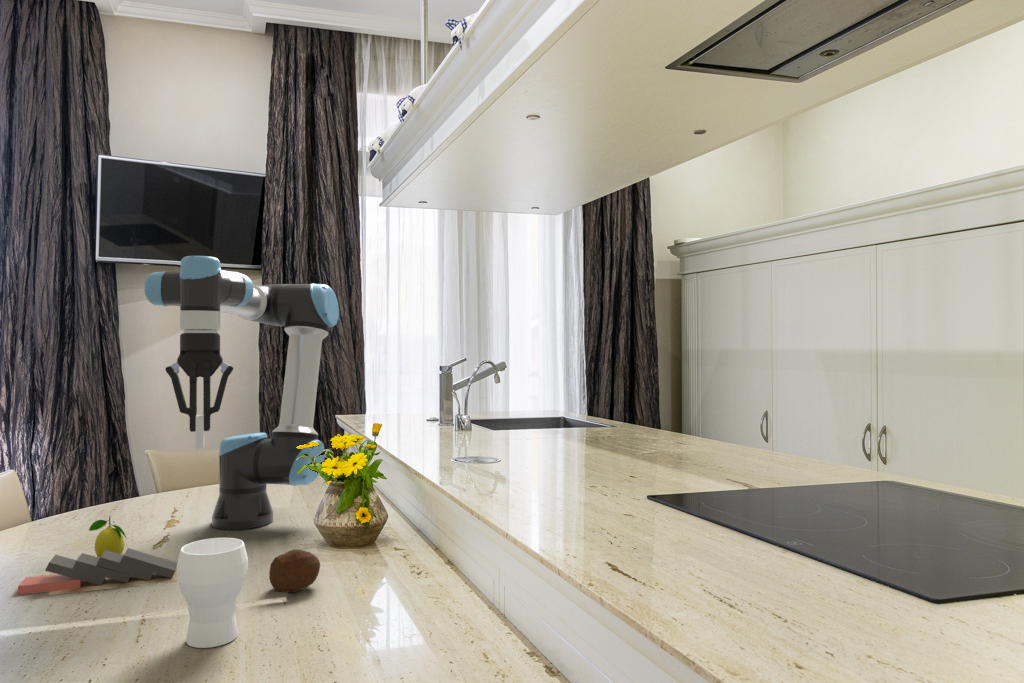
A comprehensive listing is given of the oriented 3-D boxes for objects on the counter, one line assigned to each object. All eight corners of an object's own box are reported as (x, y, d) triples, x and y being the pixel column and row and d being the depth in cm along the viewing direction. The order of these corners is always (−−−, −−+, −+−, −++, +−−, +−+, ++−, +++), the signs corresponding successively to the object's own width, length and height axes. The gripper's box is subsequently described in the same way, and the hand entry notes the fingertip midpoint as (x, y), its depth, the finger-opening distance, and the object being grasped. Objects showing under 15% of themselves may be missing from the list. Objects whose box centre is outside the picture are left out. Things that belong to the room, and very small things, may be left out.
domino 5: (177, 563, 144) (127, 547, 140) (175, 570, 139) (123, 555, 136) (174, 570, 143) (124, 555, 140) (171, 578, 139) (119, 562, 135)
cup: (191, 625, 118) (191, 537, 118) (255, 623, 119) (255, 536, 119) (165, 653, 107) (165, 556, 107) (236, 651, 108) (236, 555, 108)
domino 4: (156, 565, 142) (105, 549, 139) (153, 572, 137) (100, 557, 134) (152, 572, 142) (101, 557, 139) (149, 580, 137) (96, 565, 134)
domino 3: (134, 567, 141) (82, 553, 137) (130, 575, 136) (76, 560, 133) (131, 575, 141) (78, 560, 137) (127, 583, 136) (72, 568, 133)
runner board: (203, 568, 147) (203, 564, 147) (200, 582, 139) (200, 578, 139) (60, 583, 138) (60, 579, 138) (47, 599, 129) (47, 594, 129)
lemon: (88, 561, 151) (88, 515, 151) (117, 555, 155) (118, 511, 155) (98, 568, 147) (98, 521, 146) (128, 562, 151) (128, 516, 151)
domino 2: (109, 569, 139) (55, 554, 136) (104, 577, 134) (48, 562, 131) (106, 576, 139) (52, 562, 136) (101, 585, 134) (45, 570, 131)
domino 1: (85, 571, 138) (26, 577, 134) (80, 579, 133) (18, 586, 130) (85, 579, 138) (26, 585, 134) (80, 588, 133) (18, 594, 130)
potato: (262, 593, 133) (262, 551, 133) (305, 579, 141) (305, 540, 141) (285, 602, 129) (285, 559, 129) (328, 587, 137) (328, 547, 137)
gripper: (234, 332, 148) (234, 443, 149) (166, 331, 144) (166, 446, 144) (234, 332, 141) (233, 448, 142) (162, 331, 137) (162, 451, 137)
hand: (199, 447), depth 143 cm, fingers closed
